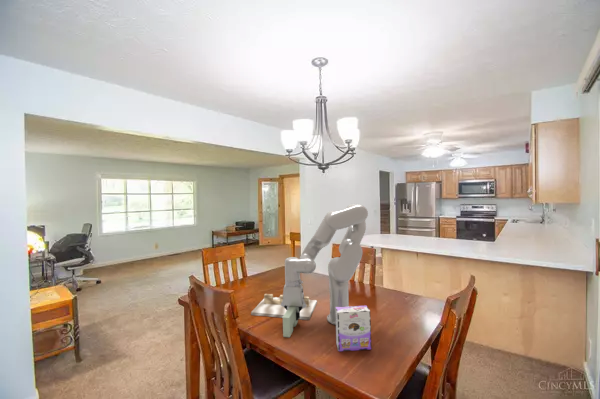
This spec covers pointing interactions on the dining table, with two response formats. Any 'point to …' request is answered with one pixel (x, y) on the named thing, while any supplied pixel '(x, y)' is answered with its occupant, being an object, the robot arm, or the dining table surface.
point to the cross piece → (289, 321)
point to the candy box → (353, 328)
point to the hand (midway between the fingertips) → (293, 318)
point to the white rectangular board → (281, 307)
